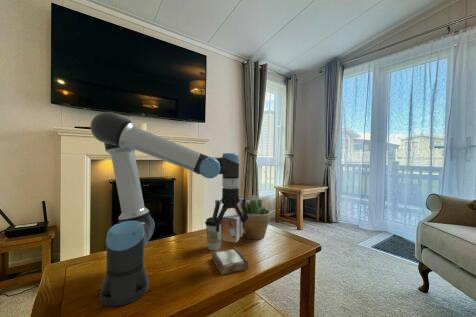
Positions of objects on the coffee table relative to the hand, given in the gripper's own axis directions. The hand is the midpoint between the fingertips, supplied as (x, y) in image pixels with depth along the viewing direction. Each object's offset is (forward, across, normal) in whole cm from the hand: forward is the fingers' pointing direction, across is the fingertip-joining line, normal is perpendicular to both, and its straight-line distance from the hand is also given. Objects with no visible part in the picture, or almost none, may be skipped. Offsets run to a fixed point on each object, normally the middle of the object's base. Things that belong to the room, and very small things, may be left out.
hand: (230, 236), depth 94 cm
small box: (+1, 0, 0) cm, 1 cm away
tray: (+12, 0, 0) cm, 12 cm away
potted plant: (+12, +26, +25) cm, 38 cm away
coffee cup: (+12, -2, +18) cm, 22 cm away
